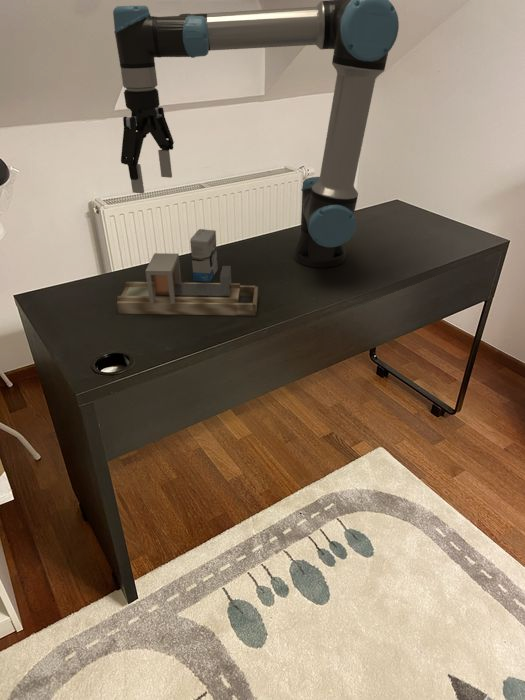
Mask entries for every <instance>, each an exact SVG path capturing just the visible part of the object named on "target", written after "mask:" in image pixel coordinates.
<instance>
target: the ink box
mask: <svg viewBox="0 0 525 700" xmlns="http://www.w3.org/2000/svg"><path fill="white" fill-rule="evenodd" d="M216 235H217V234H216V230H215V229H204V228H200V229H198V230H197V231H196V232H195V233H194V234H193V236H191V238H190V241H189V242H190V253H191V262H192V263H191V264H192V265H191V266H192V274H193V275H192V277H193V281H194V282H202V283H211V281H212V280H213V278H214V276H215V274H216V273H217V271H218V254H217V253H218V250H217V236H216Z"/></svg>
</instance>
